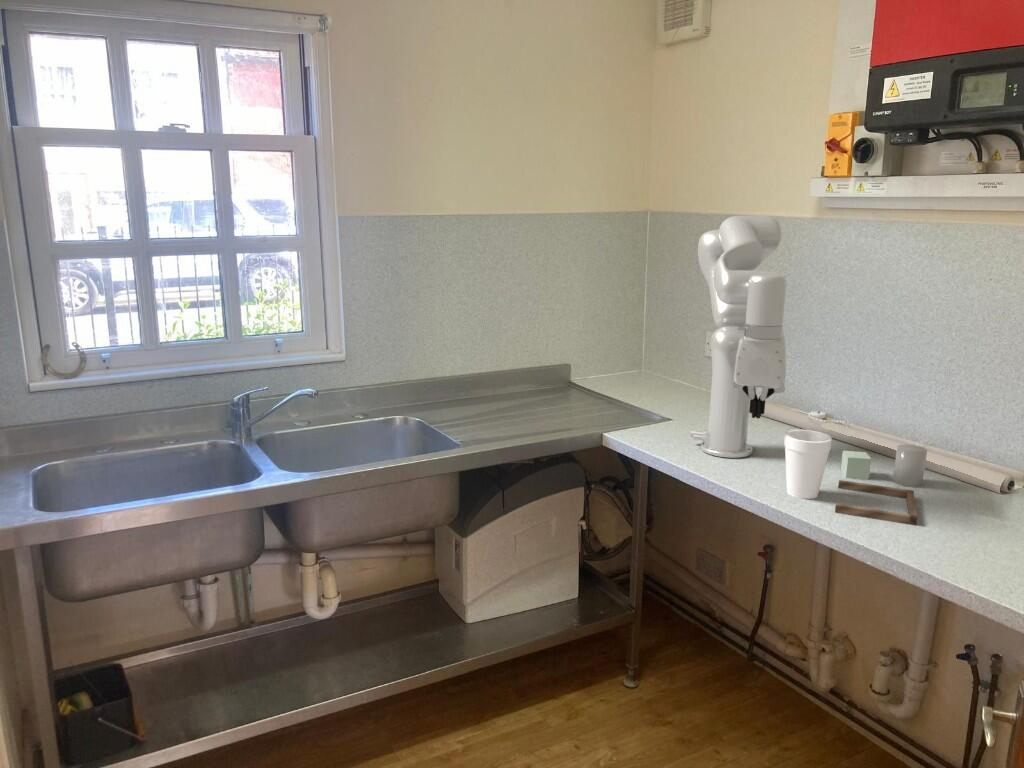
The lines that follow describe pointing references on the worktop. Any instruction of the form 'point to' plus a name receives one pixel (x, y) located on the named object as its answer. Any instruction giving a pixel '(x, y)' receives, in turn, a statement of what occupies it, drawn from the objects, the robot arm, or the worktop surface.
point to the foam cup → (805, 461)
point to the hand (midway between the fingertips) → (756, 416)
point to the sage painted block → (855, 465)
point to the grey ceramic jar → (909, 465)
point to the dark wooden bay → (879, 514)
